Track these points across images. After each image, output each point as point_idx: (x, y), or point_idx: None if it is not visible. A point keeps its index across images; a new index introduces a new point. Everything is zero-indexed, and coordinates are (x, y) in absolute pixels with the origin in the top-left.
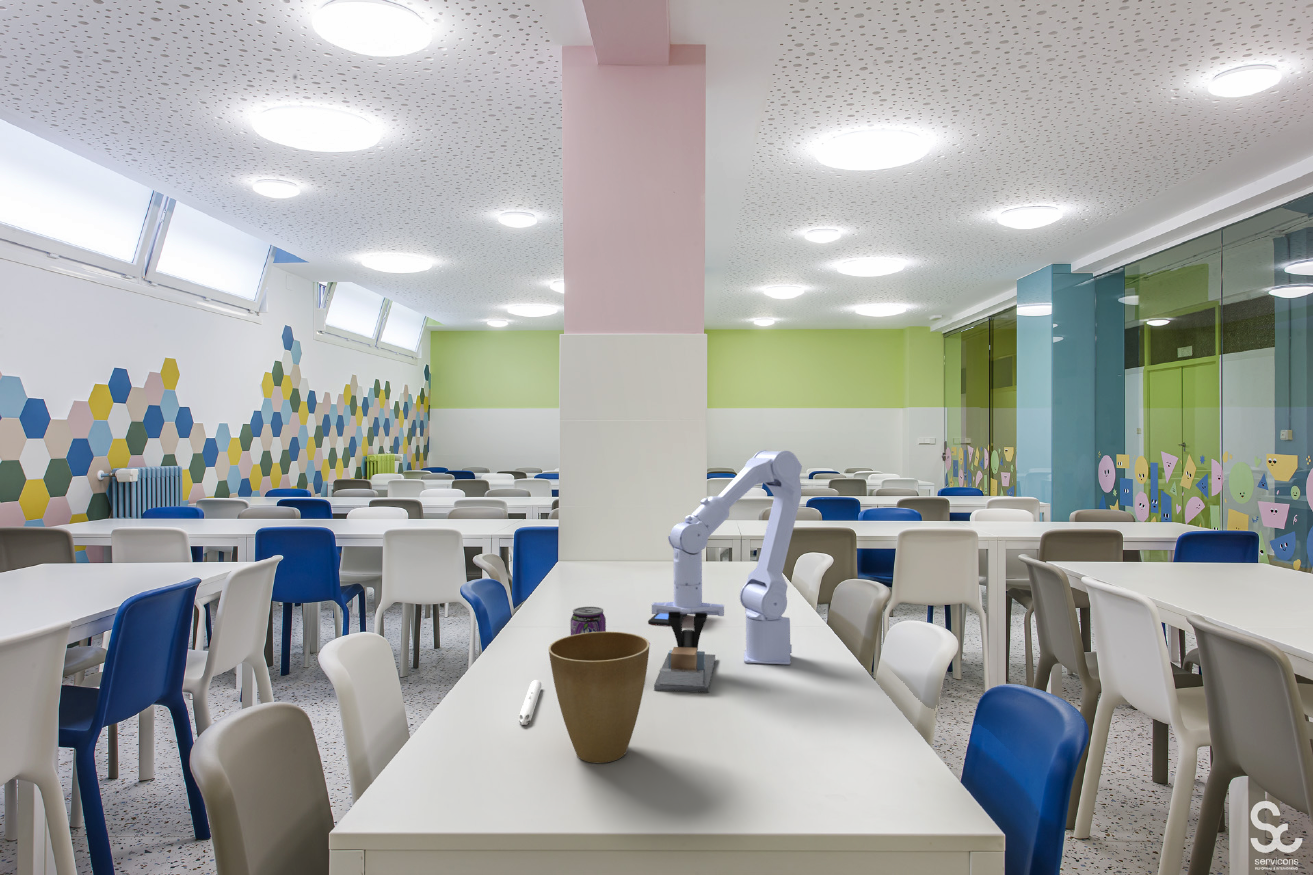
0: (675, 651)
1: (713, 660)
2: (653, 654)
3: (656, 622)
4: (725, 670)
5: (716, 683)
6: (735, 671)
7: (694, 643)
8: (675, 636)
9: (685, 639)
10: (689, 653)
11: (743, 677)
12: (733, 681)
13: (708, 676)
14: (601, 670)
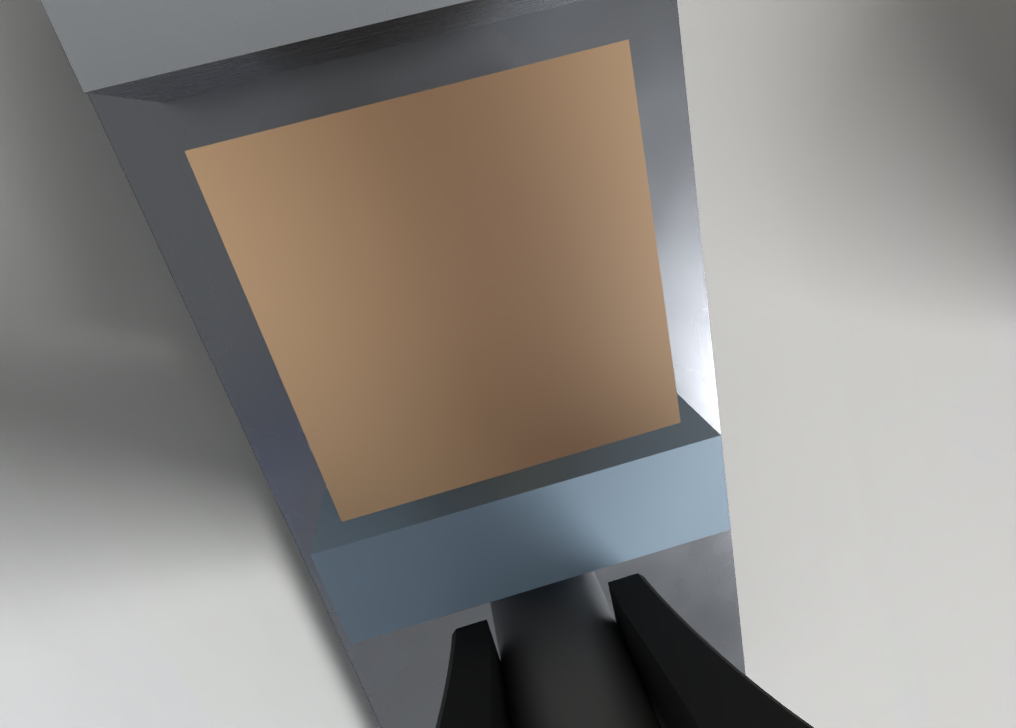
0: (593, 209)
1: (375, 701)
2: (834, 669)
3: None
4: (241, 620)
5: (150, 316)
6: (155, 634)
7: (479, 691)
8: (751, 681)
9: (610, 711)
10: (318, 190)
11: (12, 546)
12: (34, 425)
13: (228, 345)
14: None
